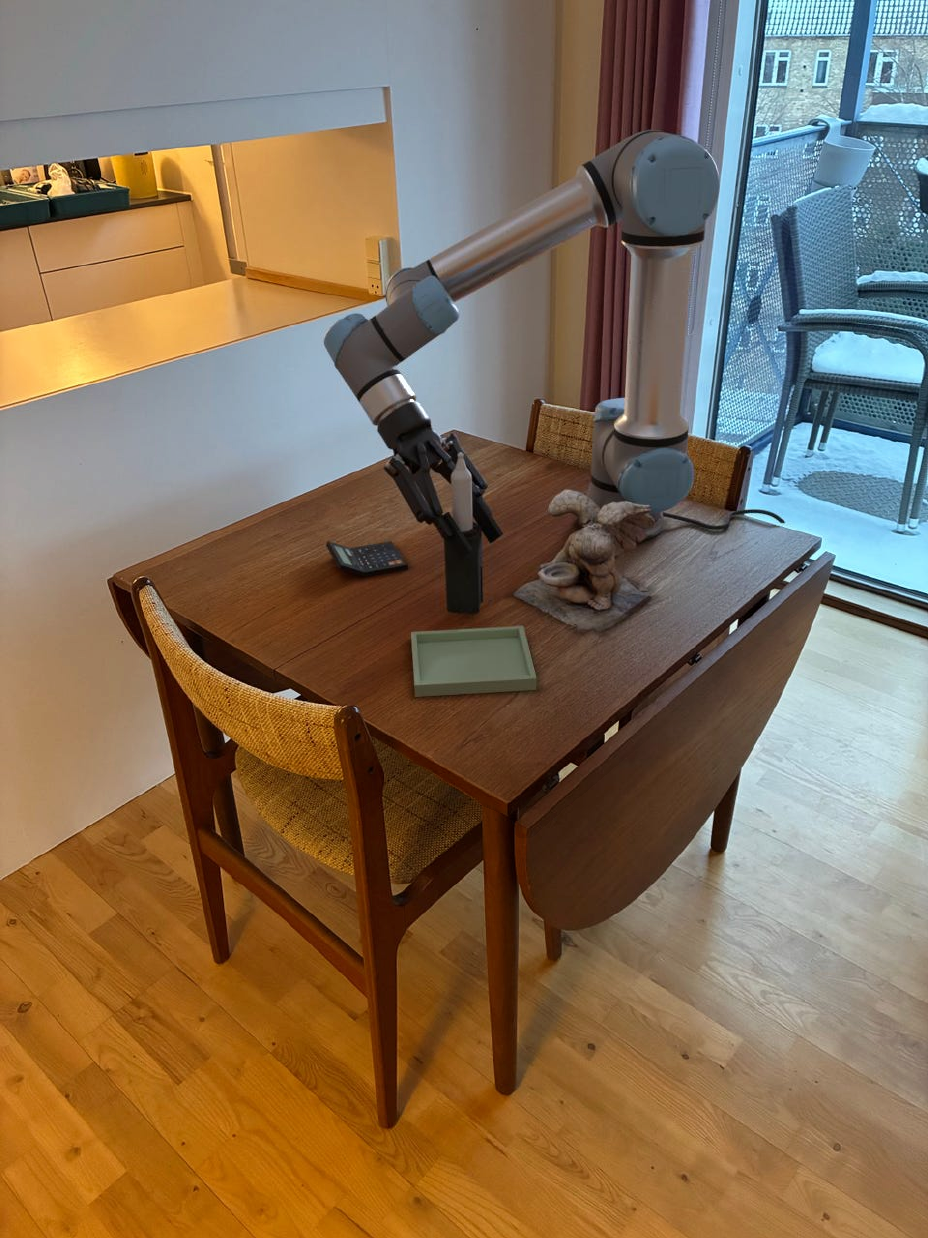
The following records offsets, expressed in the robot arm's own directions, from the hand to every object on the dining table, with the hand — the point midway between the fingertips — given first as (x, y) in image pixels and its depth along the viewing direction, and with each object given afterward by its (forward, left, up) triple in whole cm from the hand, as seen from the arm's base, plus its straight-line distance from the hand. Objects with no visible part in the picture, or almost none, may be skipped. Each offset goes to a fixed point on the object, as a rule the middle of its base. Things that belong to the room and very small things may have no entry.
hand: (481, 546), depth 140 cm
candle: (+2, -3, -12) cm, 12 cm away
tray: (+3, +11, -13) cm, 18 cm away
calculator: (+18, -22, -13) cm, 31 cm away
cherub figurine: (-17, -7, -13) cm, 22 cm away
